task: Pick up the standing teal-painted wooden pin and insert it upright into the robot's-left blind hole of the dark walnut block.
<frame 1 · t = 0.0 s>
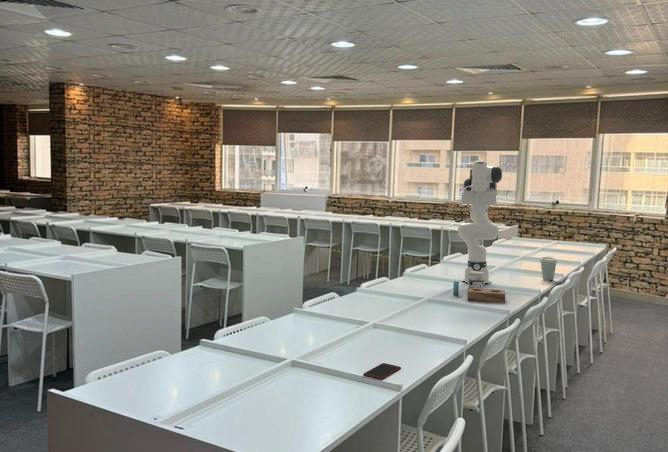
hand: (478, 211, 336), 48 cm above the table, fingers open, 8 cm apart
pin: (455, 295, 330), on the table
disposable coffee cup: (547, 280, 381), on the table
ink box: (475, 291, 342), on the table
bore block: (486, 299, 319), on the table
cell phone: (382, 373, 200), on the table
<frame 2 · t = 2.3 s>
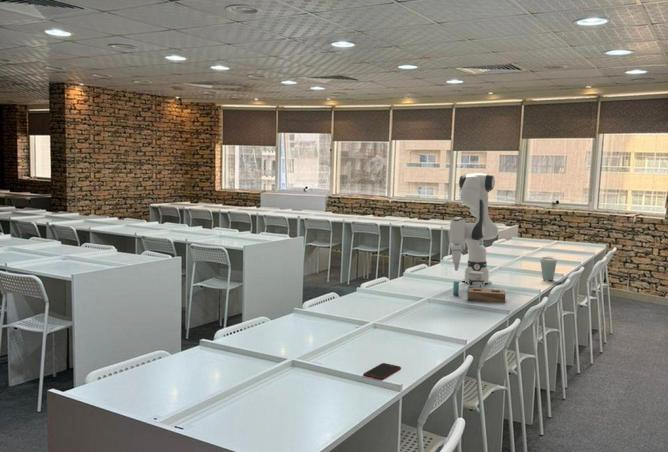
hand: (456, 269, 328), 15 cm above the table, fingers open, 8 cm apart
nothing on the table moved.
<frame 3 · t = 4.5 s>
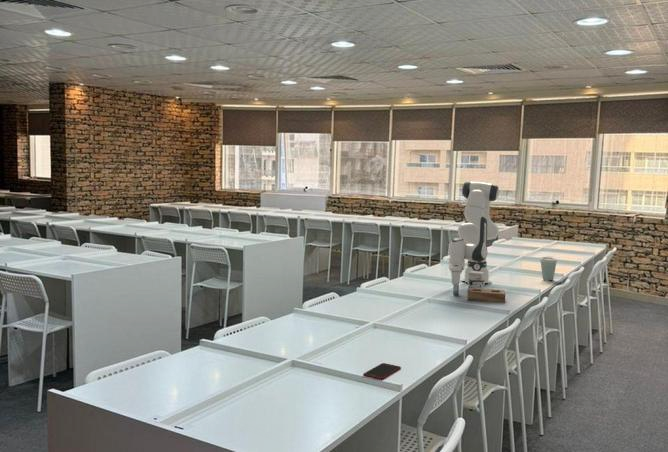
hand: (456, 289, 330), 3 cm above the table, fingers closed on pin, 3 cm apart
pin: (455, 295, 330), on the table, touching gripper
everything else where it was.
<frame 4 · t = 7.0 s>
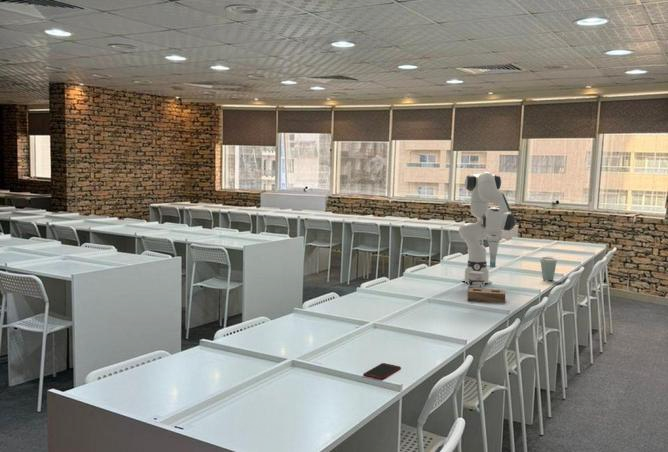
hand: (492, 261, 317), 22 cm above the table, fingers closed on pin, 3 cm apart
pin: (492, 267, 317), point 19 cm above the table, touching gripper
everything else where it was.
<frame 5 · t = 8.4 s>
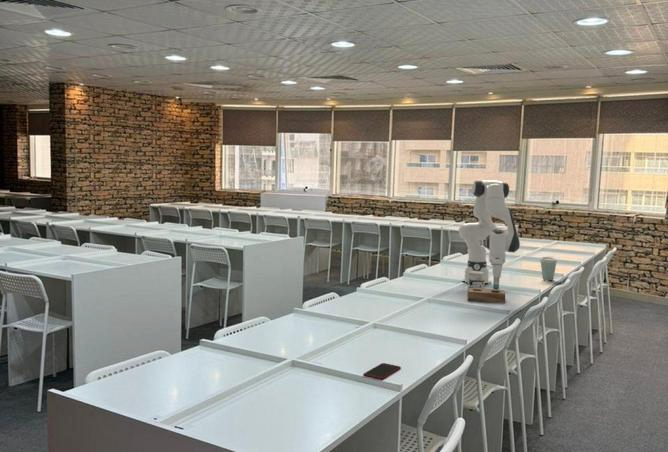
hand: (496, 283, 317), 9 cm above the table, fingers closed on pin, 3 cm apart
pin: (496, 289, 317), point 6 cm above the table, touching gripper
everything else where it was.
when the fingers open (6 cm above the table, at t = 9.7 s): pin drops 2 cm, resting on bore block.
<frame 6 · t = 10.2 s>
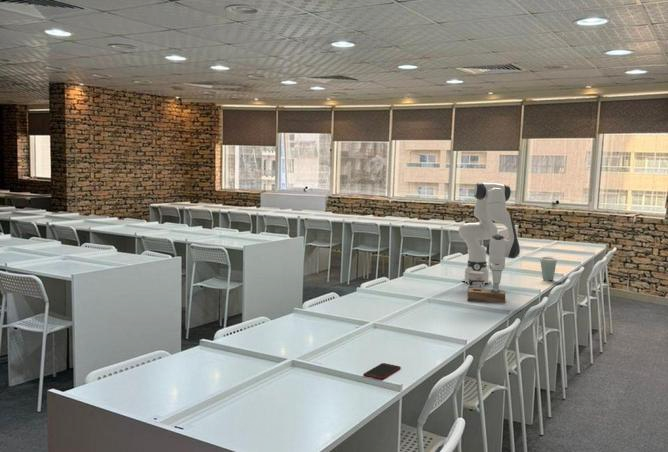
hand: (495, 289, 317), 6 cm above the table, fingers open, 8 cm apart
pin: (495, 298, 318), point 1 cm above the table, touching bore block
everything else where it was.
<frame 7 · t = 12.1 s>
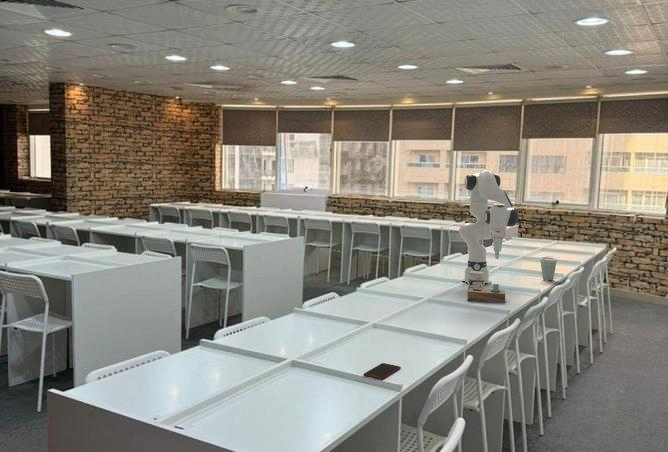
hand: (496, 257, 317), 24 cm above the table, fingers open, 8 cm apart
nothing on the table moved.
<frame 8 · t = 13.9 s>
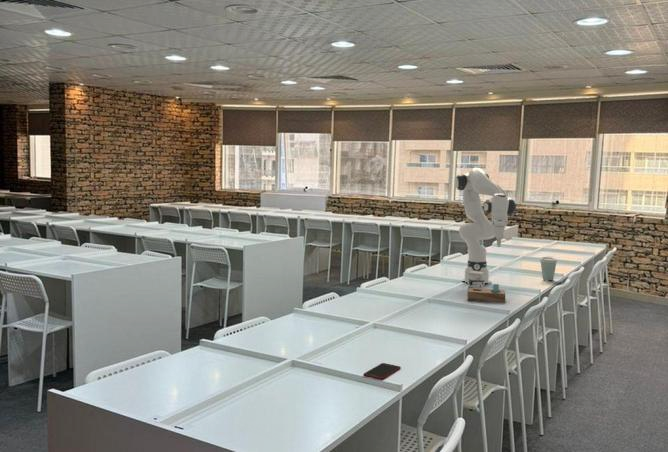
hand: (498, 245, 327), 29 cm above the table, fingers open, 8 cm apart
nothing on the table moved.
at the end: pin 0.1 cm from the target spot on the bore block, point 1.0 cm above the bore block's base; pin tilted 0°; the gripper is holding nothing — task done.
